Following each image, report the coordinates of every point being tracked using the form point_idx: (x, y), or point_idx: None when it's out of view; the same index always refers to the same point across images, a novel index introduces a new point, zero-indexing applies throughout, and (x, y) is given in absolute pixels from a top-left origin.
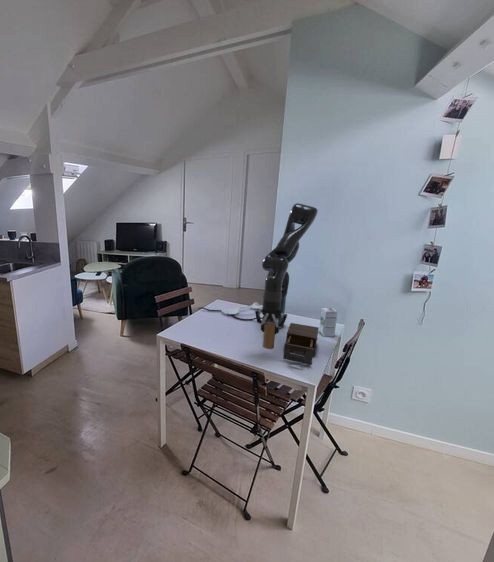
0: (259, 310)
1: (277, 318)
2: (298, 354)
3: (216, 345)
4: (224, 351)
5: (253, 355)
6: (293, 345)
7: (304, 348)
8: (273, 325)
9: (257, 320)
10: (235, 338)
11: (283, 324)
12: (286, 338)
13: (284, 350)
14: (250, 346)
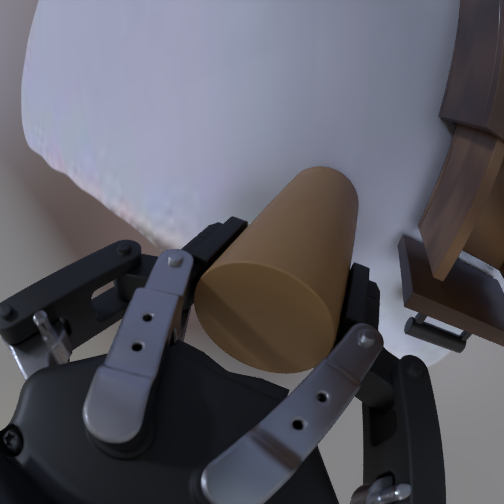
0: (23, 371)
1: (333, 418)
2: (441, 343)
3: (112, 146)
4: (145, 192)
5: (257, 204)
6: (448, 322)
7: (488, 336)
8: (294, 365)
9: (114, 301)
10: (165, 33)
11: (389, 425)
12: (467, 122)
13: (403, 276)
14: (240, 98)
